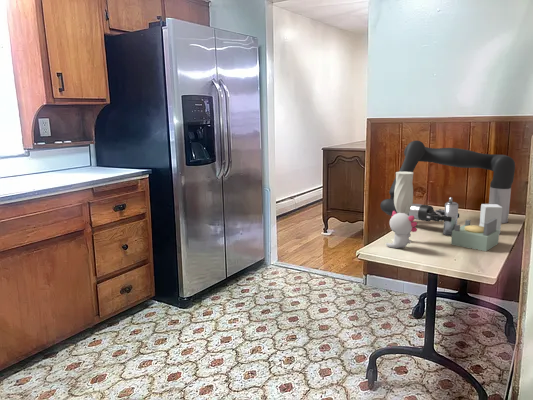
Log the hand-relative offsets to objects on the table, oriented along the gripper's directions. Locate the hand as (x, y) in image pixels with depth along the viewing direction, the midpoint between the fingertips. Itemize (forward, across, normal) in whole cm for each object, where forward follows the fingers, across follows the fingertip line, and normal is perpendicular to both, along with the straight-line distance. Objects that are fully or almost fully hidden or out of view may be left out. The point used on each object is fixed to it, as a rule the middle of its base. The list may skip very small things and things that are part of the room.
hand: (455, 217), depth 199 cm
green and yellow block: (+12, -8, +8) cm, 17 cm away
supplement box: (+10, +15, +8) cm, 20 cm away
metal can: (-2, 0, +8) cm, 8 cm away
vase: (-13, -24, +8) cm, 28 cm away
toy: (-8, -34, +8) cm, 36 cm away
